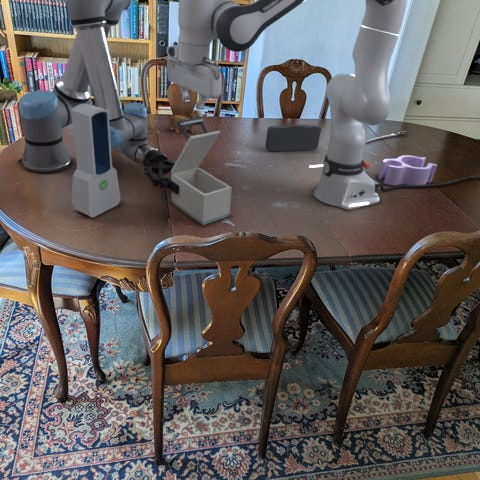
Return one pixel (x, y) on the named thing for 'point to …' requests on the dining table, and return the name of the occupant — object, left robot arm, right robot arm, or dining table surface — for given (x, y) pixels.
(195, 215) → the chest
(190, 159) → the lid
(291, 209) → the dining table surface
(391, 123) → the dining table surface
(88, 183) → the electronic device
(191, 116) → the lion figurine
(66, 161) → the left robot arm
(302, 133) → the handheld gaming console
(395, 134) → the sword
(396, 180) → the clip
